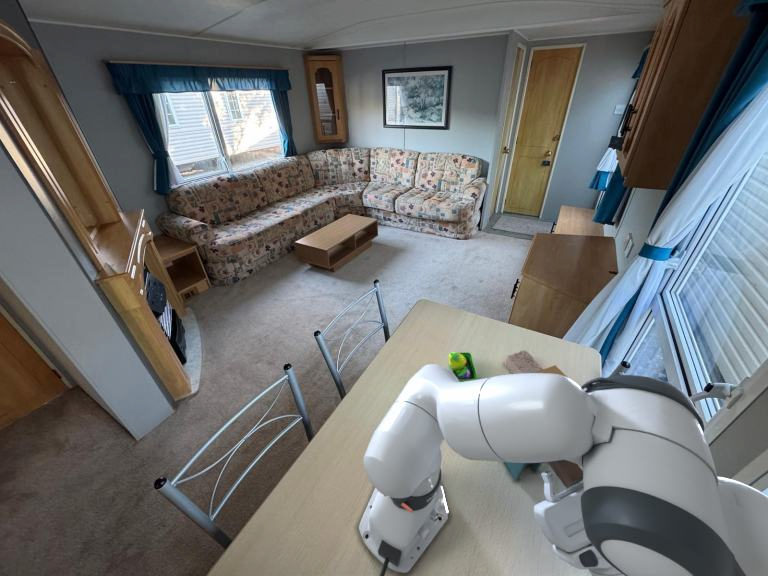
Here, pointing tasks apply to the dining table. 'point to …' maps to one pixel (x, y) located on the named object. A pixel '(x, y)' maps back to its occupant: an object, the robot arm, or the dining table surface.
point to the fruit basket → (462, 366)
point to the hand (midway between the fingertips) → (564, 464)
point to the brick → (522, 363)
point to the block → (567, 472)
